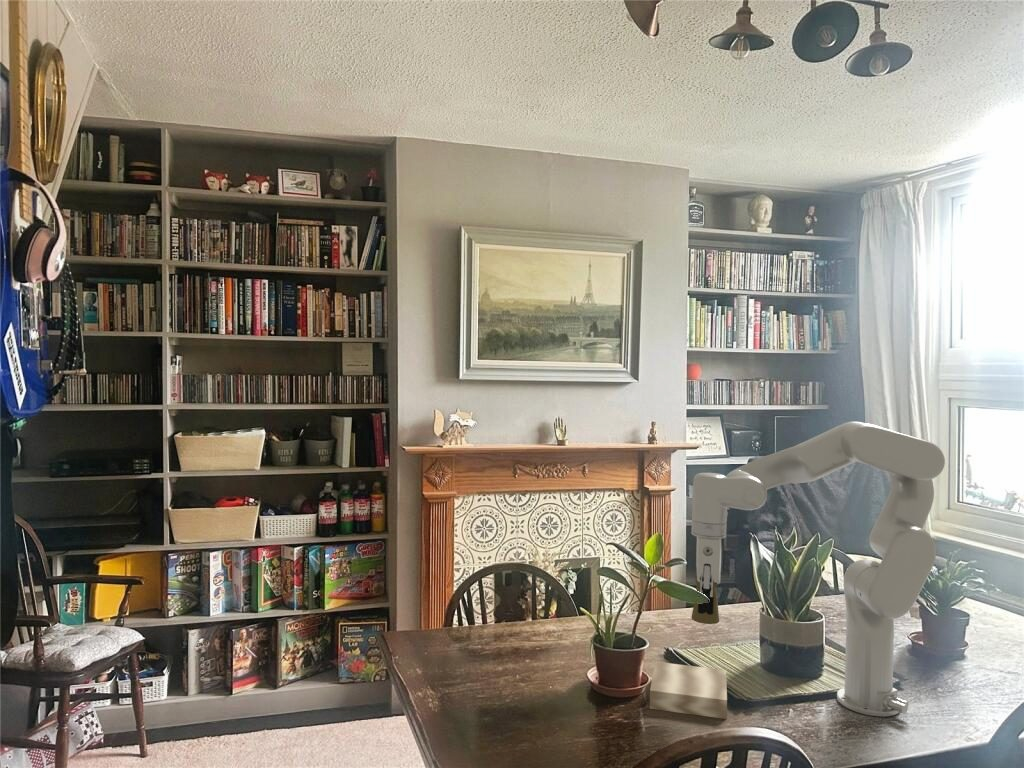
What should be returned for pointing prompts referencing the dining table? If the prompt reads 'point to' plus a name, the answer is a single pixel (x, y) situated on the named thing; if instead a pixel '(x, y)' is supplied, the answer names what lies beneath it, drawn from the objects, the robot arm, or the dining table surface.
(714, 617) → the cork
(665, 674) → the birch base
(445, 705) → the dining table surface
